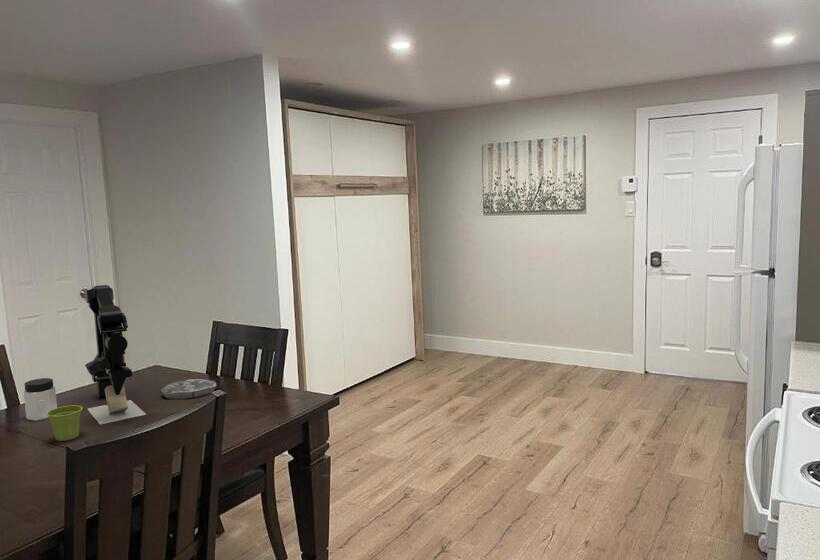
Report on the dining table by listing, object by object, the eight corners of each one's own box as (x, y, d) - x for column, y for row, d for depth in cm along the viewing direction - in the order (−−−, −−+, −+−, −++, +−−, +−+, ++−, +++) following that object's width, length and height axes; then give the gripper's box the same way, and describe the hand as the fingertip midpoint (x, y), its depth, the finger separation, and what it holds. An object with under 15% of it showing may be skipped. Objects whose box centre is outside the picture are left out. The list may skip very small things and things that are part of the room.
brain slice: (209, 383, 238) (209, 376, 238) (220, 394, 224) (220, 386, 223) (156, 392, 228) (155, 384, 228) (164, 404, 214) (163, 396, 213)
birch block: (109, 414, 202) (104, 389, 205) (125, 410, 206) (120, 386, 208) (111, 411, 199) (107, 386, 201) (128, 407, 202) (123, 383, 204)
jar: (26, 422, 197) (23, 386, 196) (26, 415, 204) (22, 381, 203) (58, 417, 202) (55, 381, 201) (56, 410, 209) (53, 376, 207)
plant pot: (60, 446, 177) (57, 417, 176) (42, 440, 182) (40, 412, 181) (91, 435, 185) (88, 408, 184) (74, 430, 190) (71, 403, 188)
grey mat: (87, 409, 209) (87, 408, 209) (130, 401, 217) (130, 400, 217) (100, 425, 193) (99, 424, 193) (146, 415, 202) (146, 414, 202)
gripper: (80, 347, 202) (84, 393, 204) (92, 357, 187) (96, 406, 189) (116, 342, 209) (120, 387, 210) (130, 351, 194) (134, 398, 196)
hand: (117, 394), depth 201 cm, fingers closed
